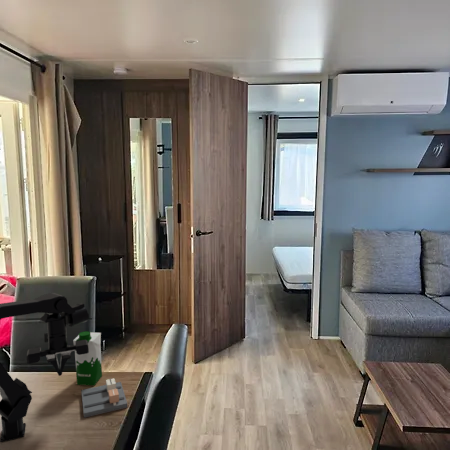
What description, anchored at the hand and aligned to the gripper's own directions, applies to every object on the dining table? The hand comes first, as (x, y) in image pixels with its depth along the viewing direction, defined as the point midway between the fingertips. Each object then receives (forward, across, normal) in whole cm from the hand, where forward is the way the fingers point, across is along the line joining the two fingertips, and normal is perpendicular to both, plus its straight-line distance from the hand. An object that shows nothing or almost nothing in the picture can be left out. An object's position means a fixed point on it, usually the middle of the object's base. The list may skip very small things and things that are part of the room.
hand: (60, 375), depth 131 cm
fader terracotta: (+10, -17, +5) cm, 20 cm away
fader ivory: (+10, -16, -2) cm, 20 cm away
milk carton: (+12, -10, -15) cm, 22 cm away
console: (+12, -14, +1) cm, 18 cm away
